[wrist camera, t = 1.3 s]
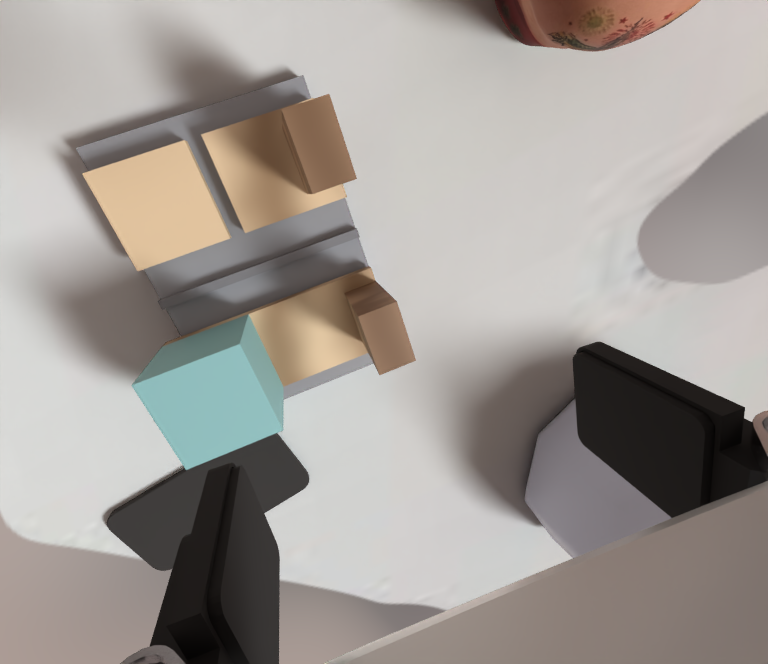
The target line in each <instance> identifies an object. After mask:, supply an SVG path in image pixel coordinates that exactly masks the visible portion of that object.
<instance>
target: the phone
mask: <svg viewBox="0 0 768 664" xmlns="http://www.w3.org/2000/svg"><path fill="white" fill-rule="evenodd" d="M231 462H232V463H234V464H235V466H236V467H237V466H240V465H242V466H243V467H244V468H245V470H246V473H247V475H248V477H249V480H250V482H251V484H252V487H253V489H254V491H255V494H256V496H257V498H258V501H259V503H260V505H261V508H262V510H263V512H264V513H265V512H267V511H269V510H270V509H272V508H274V507H275V506H277V505H278V504H280V503H282V502H283V501H285V500H287V499H288V498H290V497H292V496H293V495H295V494H297V493H298V492H300V491H301V490H303V489H304V488H305V487H306V486H307V485H308V483H309V475H308V472H307V471H306V469H305V468H304V467H303V465H302V464H301V463H300V461H299V460H298V459H297V458H296V456H295V455H294V454H293V453H292V451H291V450H290V449H289V447H288V446H287V445H286V444H285V442H284V441H283V440H282V439H281V437H280V436H279V435H278V434H277V433H275V434H273V435H270V436H268V437H266V438H263V439H261V440H258V441H256V442H253V443H251V444H249V445H246V446H244V447H241V448H239V449H236V450H234V451H231V452H229V453H227V454H224V455H222V456H219V457H217V458H214V459H212V460H209V461H207V462H205V463H202V464H200V465H197V466H195V467H192V468H190V469H188V470H186V469H183V470H182V471H180V472H178V473H176V474H175V475H173V476H171V477H170V478H168V479H166V480H165V481H162V482H160V483H159V484H157V485H155V486H154V487H152V488H150V489H149V490H147V491H145V492H144V493H143V494H141V495H139V496H137V497H136V498H134V499H132V500H131V501H129V502H127V503H126V504H124V505H122V506H121V507H119V508H117V509H116V510H114V511H113V512H112V513H111V515H110V517H109V518H108V521H107V526H108V528H109V530H110V531H111V532H112V533H113V534H115V535H116V536H117V537H118V538H119V539H120V540H121V541H123V542H124V543H125V544H126V545H127V546H128V547H130V548H131V549H132V550H133V551H134V552H135V553H137V554H138V555H139V556H140V557H141V558H142V559H143V560H145V561H146V562H147V563H148V564H149V565H151V566H152V567H153V568H155V569H157V570H161V571H164V570H170V569H172V568H173V565H174V562H175V559H176V555H177V552H178V548H179V545H180V542H181V540H182V538H183V537H184V536H185V535H187V534H190V533H191V532H192V528H193V524H194V521H195V517H196V513H197V509H198V506H199V502H200V498H201V495H202V491H203V487H204V484H205V480H206V476H207V473H208V470H210V469H213V468H216V467H219V466H222V465H225V464H228V463H231Z"/></svg>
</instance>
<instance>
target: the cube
mask: <svg viewBox="0 0 768 664" xmlns="http://www.w3.org/2000/svg"><path fill="white" fill-rule="evenodd" d="M132 387H133V388H134V390H135V392H136V393H137V395H138V396H139V398H140V399H141V401H142V402H143V404H144V406H145V407H146V409H147V410H148V412H149V413H150V415H151V416H152V418H153V419H154V421H155V423H156V424H157V426H158V427H159V429H160V430H161V432H162V433H163V435H164V437H165V438H166V440H167V441H168V443H169V444H170V446H171V447H172V449H173V450H174V452H175V454H176V455H177V457H178V458H179V460H180V461H181V463H182V464H183V466H184V468H185V469H186V470H188V469H190V468H192V467H195V466H197V465H200V464H202V463H205V462H207V461H209V460H212V459H214V458H217V457H219V456H222V455H224V454H227V453H229V452H231V451H234V450H236V449H239V448H241V447H244V446H246V445H249V444H251V443H253V442H256V441H258V440H261V439H263V438H266V437H268V436H270V435H273V434H275V433H278V432H280V431H283V385H282V383H281V381H280V378H279V376H278V374H277V372H276V370H275V368H274V366H273V364H272V362H271V360H270V358H269V355H268V353H267V351H266V349H265V347H264V345H263V343H262V341H261V339H260V337H259V335H258V333H257V330H256V328H255V326H254V324H253V322H252V320H251V318H250V316H249V314H247V315H245V316H242V317H239V318H237V319H234V320H231V321H229V322H226V323H223V324H221V325H218V326H215V327H213V328H210V329H208V330H205V331H202V332H200V333H197V334H194V335H192V336H189V337H186V338H184V339H181V340H178V341H176V342H173V343H170V344H168V345H165V346H162V348H161V349H160V350H159V351H158V353H157V354H156V355H155V356H154V358H153V359H152V360H151V362H150V363H149V364H148V365H147V367H146V368H145V369H144V370H143V372H142V373H141V374H140V375H139V377H138V378H137V379H136V380H135V382H134V383H133V384H132Z"/></svg>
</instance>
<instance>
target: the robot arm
mask: <svg viewBox="0 0 768 664" xmlns="http://www.w3.org/2000/svg"><path fill="white" fill-rule="evenodd" d="M573 371H574V387H575V402H576V418H577V433H578V437H579V439H580V441H581V443H582V444H583V445H584V446H585V447H586V448H587V449H589V450H590V451H591V452H592V453H593V454H595V455H596V456H597V457H598V458H600V459H601V460H602V461H603V462H604V463H606V464H607V465H608V466H609V467H610V468H612V469H613V470H614V471H615V472H617V473H618V474H619V475H620V476H621V477H623V478H624V479H625V480H626V481H627V482H629V483H630V484H631V485H632V486H634V487H635V488H636V489H637V490H638V491H640V492H641V493H642V494H643V495H644V496H646V497H647V498H648V499H649V500H651V501H652V502H653V503H654V504H655V505H657V506H658V507H659V508H660V509H661V510H663V511H664V512H665V513H666V514H667V515H669V516H670V517H671V519H669V520H666V521H664V522H661V523H659V524H656V525H654V526H651V527H649V528H646V529H644V530H642V531H639V532H637V533H634V534H632V535H629V536H627V537H624V538H622V539H619V540H617V541H614V542H612V543H609V544H607V545H605V546H602V547H600V548H597V549H595V550H592V551H590V552H587V553H585V554H583V555H580V556H578V557H575V558H573V559H570V560H568V561H565V562H563V563H561V564H558V565H556V566H553V567H551V568H548V569H546V570H544V571H541V572H539V573H536V574H534V575H531V576H529V577H527V578H524V579H522V580H519V581H517V582H514V583H512V584H510V585H507V586H505V587H502V588H500V589H497V590H495V591H493V592H490V593H488V594H485V595H483V596H481V597H478V598H476V599H473V600H471V601H469V602H466V603H464V604H462V605H459V606H457V607H454V608H452V609H450V610H447V611H445V612H442V613H440V614H438V615H435V616H433V617H430V618H428V619H426V620H423V621H421V622H419V623H416V624H414V625H412V626H409V627H407V628H404V629H402V630H400V631H397V632H395V633H392V634H390V635H387V636H385V637H383V638H380V639H378V640H376V641H373V642H371V643H369V644H367V645H364V646H362V647H360V648H357V649H355V650H353V651H351V652H349V653H346V654H344V655H342V656H339V657H337V658H335V659H332V660H330V661H328V662H326V663H323V664H768V411H764V412H762V413H760V414H758V415H756V416H755V418H754V419H753V422H750V421H748V420H746V419H744V412H745V407H743V406H740V405H738V404H736V403H734V402H732V401H729V400H727V399H725V398H723V397H721V396H718V395H716V394H714V393H712V392H710V391H707V390H705V389H703V388H701V387H699V386H697V385H694V384H692V383H690V382H688V381H686V380H683V379H681V378H679V377H677V376H675V375H672V374H670V373H668V372H666V371H664V370H661V369H659V368H657V367H655V366H653V365H650V364H648V363H646V362H644V361H642V360H639V359H637V358H635V357H633V356H631V355H628V354H626V353H624V352H622V351H620V350H617V349H615V348H613V347H611V346H609V345H607V344H604V343H602V342H595V343H592V344H589V345H586V346H583V347H580V348H579V349H578V350H577V352H576V354H575V355H574V357H573ZM279 564H280V558H279V550H278V546H277V543H276V540H275V538H274V536H273V533H272V531H271V529H270V526H269V524H268V522H267V519H266V517H265V515H264V512H263V510H262V508H261V505H260V503H259V501H258V498H257V496H256V494H255V491H254V489H253V487H252V484H251V482H250V480H249V477H248V475H247V473H246V470H245V468H244V467H243V466H242V465H240V466H237V467H236V466H235V464H234V463H232V462H231V463H228V464H225V465H222V466H219V467H216V468H213V469H210V470H208V473H207V476H206V480H205V484H204V487H203V491H202V495H201V498H200V502H199V506H198V509H197V513H196V517H195V521H194V524H193V528H192V532H191V533H190V534H187V535H185V536H184V537H183V538H182V540H181V542H180V545H179V548H178V552H177V555H176V559H175V562H174V565H173V569H172V572H171V576H170V579H169V582H168V586H167V589H166V593H165V596H164V600H163V603H162V606H161V610H160V613H159V617H158V620H157V624H156V627H155V630H154V634H153V637H152V640H151V644H150V647H147V648H144V649H141V650H140V651H138V652H136V653H134V654H132V655H131V656H129V657H127V658H126V659H125V660H124V661H123V662H121V663H120V664H279Z"/></svg>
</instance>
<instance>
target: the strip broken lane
mask: <svg viewBox="0 0 768 664" xmlns="http://www.w3.org/2000/svg"><path fill="white" fill-rule="evenodd" d="M201 136H202V138H203V140H204V142H205V145H206V147H207V149H208V151H209V154H210V156H211V158H212V160H213V163H214V165H215V167H216V169H217V171H218V174H219V176H220V178H221V180H222V183H223V185H224V187H225V189H226V192H227V194H228V196H229V198H230V201H231V203H232V205H233V207H234V210H235V212H236V214H237V216H238V218H239V221H240V223H241V225H242V227H243V230H244V232H245V233H247V232H250V231H253V230H256V229H258V228H261V227H264V226H267V225H270V224H272V223H275V222H278V221H281V220H284V219H287V218H289V217H292V216H295V215H298V214H301V213H303V212H306V211H309V210H312V209H315V208H317V207H320V206H323V205H326V204H329V203H331V202H334V201H337V200H340V199H343V198H346V197H347V196H346V193H345V190H344V187H343V183H346V182H349V181H352V180H354V179H357V178H356V175H355V172H354V169H353V166H352V163H351V159H350V156H349V153H348V150H347V147H346V144H345V141H344V138H343V135H342V132H341V129H340V126H339V123H338V120H337V116H336V113H335V110H334V107H333V104H332V101H331V98H330V95H329V94H327V95H324V96H321V97H318V98H315V99H314V98H311V99H308V100H305V101H302V102H299V103H296V104H293V105H290V106H287V107H284V108H281V109H278V110H275V111H272V112H269V113H266V114H262V115H259V116H256V117H253V118H250V119H247V120H244V121H241V122H238V123H235V124H232V125H229V126H226V127H223V128H220V129H217V130H214V131H210V132H207V133H204V134H201Z"/></svg>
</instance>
